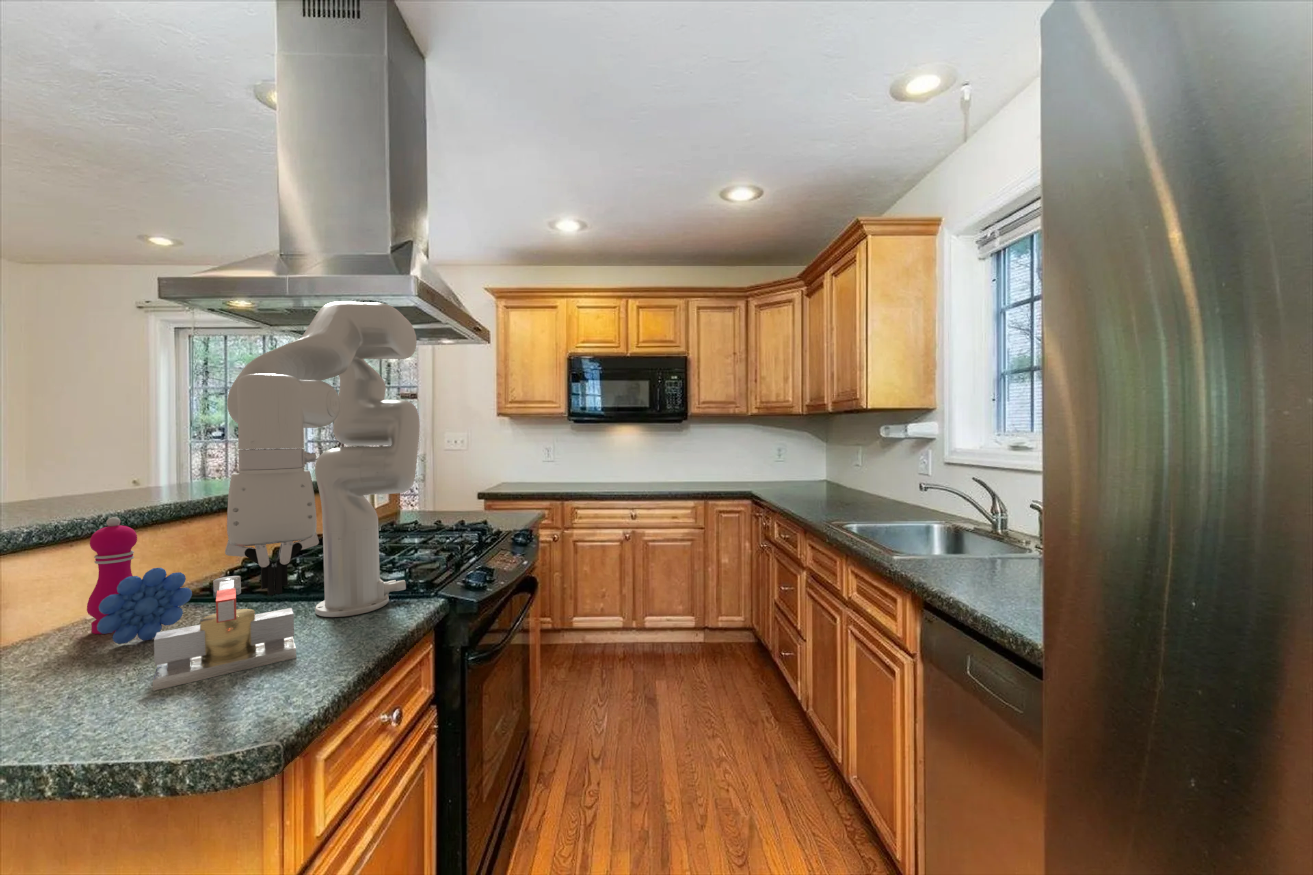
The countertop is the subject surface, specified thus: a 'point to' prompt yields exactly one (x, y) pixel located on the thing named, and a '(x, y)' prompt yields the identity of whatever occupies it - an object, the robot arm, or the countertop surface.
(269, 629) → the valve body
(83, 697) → the countertop surface
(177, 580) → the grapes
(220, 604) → the valve lever
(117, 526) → the pepper mill
